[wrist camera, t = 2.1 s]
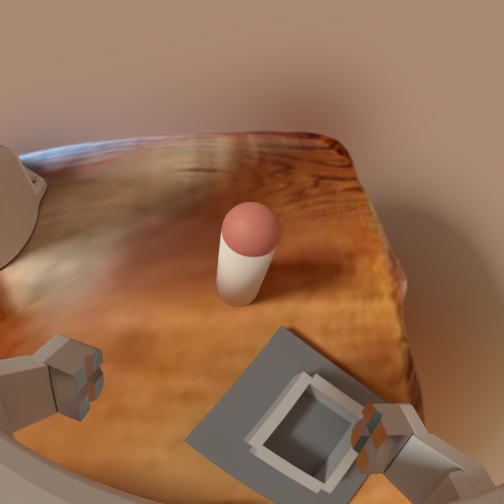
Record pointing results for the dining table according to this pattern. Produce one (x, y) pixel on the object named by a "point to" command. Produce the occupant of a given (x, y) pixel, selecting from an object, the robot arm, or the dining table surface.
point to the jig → (288, 426)
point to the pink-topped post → (245, 251)
